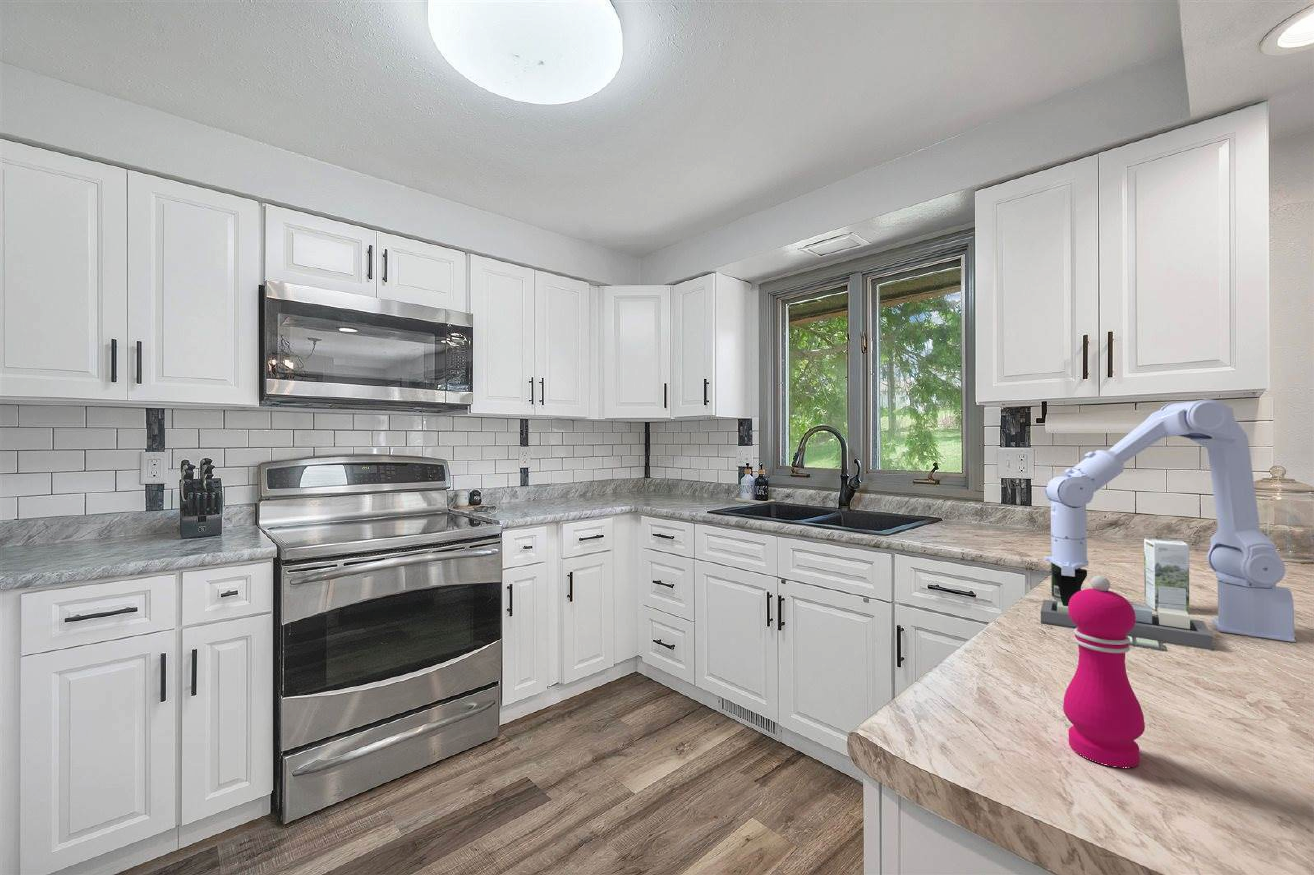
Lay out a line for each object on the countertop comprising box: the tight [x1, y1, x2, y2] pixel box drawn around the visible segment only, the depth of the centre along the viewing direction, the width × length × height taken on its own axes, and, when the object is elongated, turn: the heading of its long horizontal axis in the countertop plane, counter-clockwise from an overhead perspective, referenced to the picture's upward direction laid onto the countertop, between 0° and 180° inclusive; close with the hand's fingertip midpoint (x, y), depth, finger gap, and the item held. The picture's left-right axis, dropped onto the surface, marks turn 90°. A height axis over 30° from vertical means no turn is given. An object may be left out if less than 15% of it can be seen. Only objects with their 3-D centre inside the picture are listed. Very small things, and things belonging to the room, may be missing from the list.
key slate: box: [1130, 603, 1153, 624], centre depth 104 cm, size 4×4×2 cm
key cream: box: [1156, 607, 1191, 629], centre depth 100 cm, size 4×4×2 cm
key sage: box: [1057, 601, 1068, 613], centre depth 110 cm, size 4×4×2 cm
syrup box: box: [1143, 538, 1190, 614], centre depth 117 cm, size 6×6×14 cm
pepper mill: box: [1062, 575, 1146, 769], centre depth 63 cm, size 7×7×20 cm
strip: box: [1128, 636, 1166, 652], centre depth 98 cm, size 11×4×1 cm, turn 52°
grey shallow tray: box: [1040, 599, 1214, 651], centre depth 105 cm, size 24×10×2 cm, turn 52°
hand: (1069, 606), depth 110 cm, fingers closed, pressing on key sage
